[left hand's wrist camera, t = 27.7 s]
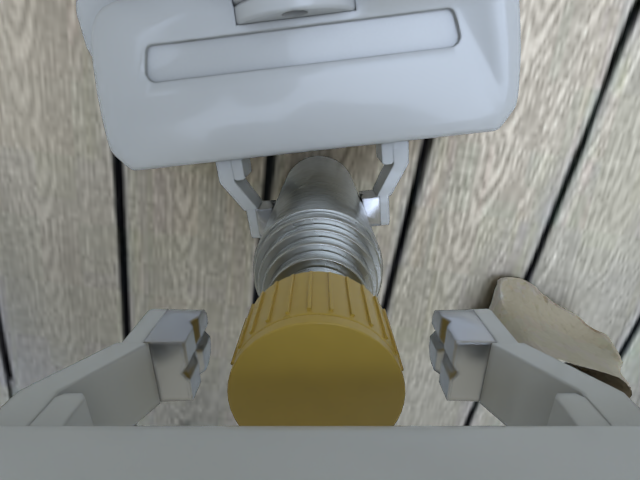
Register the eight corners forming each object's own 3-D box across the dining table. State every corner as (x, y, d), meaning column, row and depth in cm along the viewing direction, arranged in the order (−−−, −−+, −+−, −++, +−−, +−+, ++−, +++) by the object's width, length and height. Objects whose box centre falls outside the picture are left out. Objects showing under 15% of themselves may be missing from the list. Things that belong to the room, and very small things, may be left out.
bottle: (270, 193, 26) (170, 378, 9) (316, 140, 25) (308, 235, 8) (321, 237, 28) (322, 475, 10) (368, 189, 26) (464, 368, 9)
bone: (460, 310, 32) (474, 426, 25) (503, 250, 27) (536, 373, 20) (561, 336, 32) (605, 461, 24) (623, 280, 27) (702, 417, 19)
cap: (218, 303, 10) (189, 362, 8) (355, 244, 9) (366, 290, 7) (285, 406, 11) (277, 482, 9) (409, 360, 11) (433, 430, 8)
